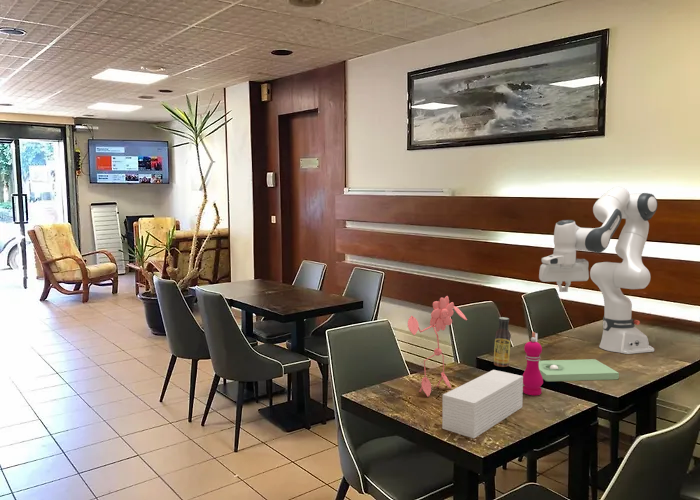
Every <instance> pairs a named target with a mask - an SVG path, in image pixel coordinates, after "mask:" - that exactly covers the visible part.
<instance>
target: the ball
mask: <svg viewBox="0 0 700 500" xmlns="http://www.w3.org/2000/svg"><path fill="white" fill-rule="evenodd" d="M549 369H559V368H558V366H557V365H551V366H550V368H549Z"/></svg>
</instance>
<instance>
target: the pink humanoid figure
mask: <svg viewBox="0 0 700 500" xmlns="http://www.w3.org/2000/svg"><path fill="white" fill-rule="evenodd" d="M432 308H433V310H432V311H431V313H430V317H431V318H430V321H429V325H430V326H428V327H426V328H423V329H422V330H421V328H420V327H419V326H420V325H419V321H418V320H417V318H416V317H414V316H413V315H411V316H410V317H409V318H408V321H407V328H408V330H409V332H410V333H411V334H412V335H413V336H415V335H416V334H417V332H419V333H421V334H422V333H423V332H425V331H427V330H428V329H430V328H433V330H434V333H435V335H436V341H437V342H436V343H437V347H436V348H435V349H434V350H433V354H432V355H430V356H429V357H428V358H426V359H424V360H423V369H424V371H423V372H424V376H423V377H422V378H421V386H420V389H419V391H418V392H419V393H421V392H422V390H423V392H424V394H425V395H426V396H427V398H429V397H430V394H431V392H432V383H431V382H430V380H429V378H428V377H427V373H426V372H427V371H426V361H427V360H429V359H431V358H433V357H435V356H440V355H442V371H441V372H440V374H441V376H440V378H439V381H438V382H437V384H436V387H437V388H439V385H440V384H441V381H442V380H443V382H444V383H445V384H446V386H447V387H448V388H449V389H451V390H452V386H451V383H450V381H449V380H450V379H448V377H447V375H446V374H445V361H444V359H445V356H444V354H443V352H442V349H441V348H440V339H439V335H438V333H437V332H440V331H445V330H446V328H447V326H451V325H452V323H453V319H452V318H451V317H452V316H453V315H454V312H456V314H457V315H458V316H459V317H460V318H462V319H463V320H465V321H468V319H467V317H466V315H465V314H464V313H463V312H462V311H461V310H460V309H459V307H457V306H455V304H454V302H453V301H452V302H450V299H449V296H448V295H446V296H445V297H440V298H439V300H438V301H437V300H436V301H433V302H432ZM406 395H407V396H409V394H407V393H406Z"/></svg>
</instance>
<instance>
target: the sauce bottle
mask: <svg viewBox="0 0 700 500" xmlns="http://www.w3.org/2000/svg"><path fill="white" fill-rule="evenodd" d="M509 324H510V318H509V317H506V316H505V317H503V316H501V317H498V328H497V329H496V332H495V337H494V348H493V351H494V352H493V365H494V366H496V367H499V368H507V367H509V365H510V357H511V356H510V353H511V337H512V336H511V332H510V330H509Z"/></svg>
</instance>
